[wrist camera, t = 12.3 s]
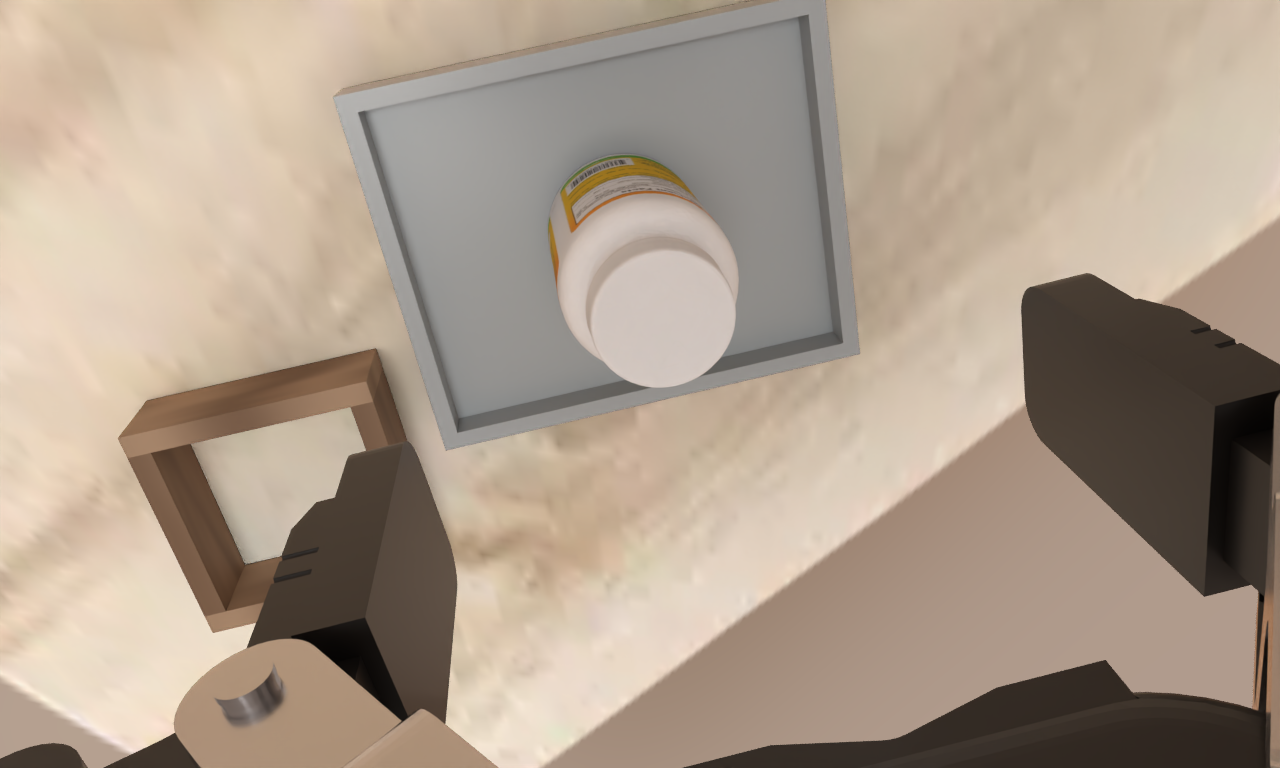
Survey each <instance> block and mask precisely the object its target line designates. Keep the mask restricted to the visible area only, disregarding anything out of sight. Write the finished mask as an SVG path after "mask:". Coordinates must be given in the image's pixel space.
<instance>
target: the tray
mask: <svg viewBox="0 0 1280 768" xmlns="http://www.w3.org/2000/svg"><path fill="white" fill-rule="evenodd" d="M333 99H334V102H335V105H336V108H337V111H338V114H339V117H340V121H341V124H342V127H343V130H344V133H345V136H346V139H347V143H348V146H349V149H350V152H351V155H352V158H353V161H354V164H355V168H356V171H357V174H358V177H359V180H360V183H361V186H362V189H363V193H364V196H365V199H366V202H367V205H368V208H369V211H370V214H371V218H372V221H373V224H374V227H375V230H376V233H377V236H378V239H379V243H380V246H381V249H382V252H383V255H384V258H385V261H386V265H387V268H388V271H389V274H390V277H391V280H392V283H393V286H394V290H395V293H396V296H397V299H398V302H399V305H400V308H401V311H402V315H403V318H404V321H405V324H406V327H407V330H408V333H409V336H410V340H411V343H412V346H413V349H414V352H415V355H416V358H417V361H418V365H419V368H420V371H421V374H422V377H423V380H424V383H425V387H426V390H427V393H428V396H429V399H430V402H431V405H432V408H433V412H434V415H435V418H436V421H437V424H438V427H439V430H440V433H441V437H442V440H443V443H444V446H445V449H446V450H450V449H454V448H459V447H463V446H467V445H472V444H476V443H480V442H485V441H489V440H493V439H497V438H502V437H506V436H510V435H515V434H519V433H523V432H527V431H532V430H536V429H540V428H545V427H549V426H553V425H557V424H562V423H566V422H570V421H575V420H579V419H583V418H587V417H592V416H596V415H600V414H605V413H609V412H613V411H618V410H622V409H626V408H630V407H635V406H639V405H643V404H648V403H652V402H656V401H660V400H665V399H669V398H673V397H678V396H682V395H686V394H690V393H695V392H699V391H703V390H708V389H712V388H716V387H720V386H725V385H729V384H733V383H738V382H742V381H746V380H751V379H755V378H759V377H763V376H768V375H772V374H776V373H781V372H785V371H789V370H793V369H798V368H802V367H806V366H811V365H815V364H819V363H823V362H828V361H832V360H836V359H841V358H845V357H849V356H853V355H858V354H860V348H859V338H858V328H857V318H856V307H855V297H854V287H853V277H852V267H851V256H850V246H849V236H848V226H847V216H846V205H845V195H844V185H843V175H842V165H841V154H840V144H839V134H838V124H837V114H836V103H835V93H834V83H833V73H832V63H831V52H830V42H829V32H828V22H827V12H826V1H825V0H751V1H746V2H742V3H737V4H732V5H728V6H723V7H718V8H714V9H709V10H705V11H700V12H695V13H691V14H686V15H681V16H677V17H672V18H667V19H663V20H658V21H654V22H649V23H644V24H640V25H635V26H630V27H626V28H621V29H616V30H612V31H607V32H603V33H598V34H593V35H589V36H584V37H579V38H575V39H570V40H565V41H561V42H556V43H552V44H547V45H542V46H538V47H533V48H528V49H524V50H519V51H514V52H510V53H505V54H501V55H496V56H491V57H487V58H482V59H477V60H473V61H468V62H463V63H459V64H454V65H450V66H445V67H440V68H436V69H431V70H426V71H422V72H417V73H412V74H408V75H403V76H399V77H394V78H389V79H385V80H380V81H375V82H371V83H366V84H361V85H357V86H352V87H348V88H343V89H341V90H340V91H339V92H338V93H337V94H336V95H335V96H334V97H333ZM614 154H636V155H641V156H645V157H648V158H651V159H653V160H656V161H658V162H659V163H661V164H663V165H665V166H666V167H667V168H669V169H670V170H671V171H673V172H674V173H675V174H676V175H677V176H678V177H679V178H680V179H681V180H682V181H683V182H684V183H685V185H686V186H687V187H688V188H689V190H690V191H691V192H692V193H693V195H694V196H695V197H696V198H697V200H698V201H699V202H700V203H701V205H702V206H703V207H704V208H705V209H706V211H707V212H708V213H709V214H710V215H711V217H712V218H713V219H714V220H715V221H716V223H717V224H718V225H719V227H720V228H721V229H722V231H723V232H724V234H725V236H726V237H727V239H728V241H729V242H730V245H731V247H732V249H733V252H734V254H735V258H736V262H737V267H738V276H739V284H738V296H737V300H736V304H735V307H736V320H735V328H734V332H733V335H732V338H731V340H730V343H729V345H728V347H727V349H726V350H725V352H724V353H723V355H722V356H721V358H720V359H719V360H718V361H717V362H716V363H715V364H714V365H713V366H712V367H711V368H710V369H709V370H708V371H707V372H705V373H704V374H702V375H701V376H699V377H697V378H695V379H693V380H692V381H689V382H687V383H684V384H681V385H677V386H672V387H665V388H651V387H645V386H641V385H637V384H635V383H631V382H629V381H627V380H625V379H623V378H622V377H620V376H618V375H617V374H616V373H614V372H613V371H612V370H611V369H610V368H609V367H608V366H607V365H606V364H605V363H604V361H602V360H600V359H598V358H597V357H595V356H594V355H592V354H591V353H590V352H589V351H588V350H586V349H585V348H584V347H583V346H582V345H581V344H580V343H579V342H578V340H577V339H576V338H575V336H574V335H573V334H572V332H571V330H570V329H569V327H568V325H567V323H566V321H565V318H564V315H563V313H562V310H561V307H560V303H559V299H558V293H557V288H556V281H555V275H554V268H553V263H552V258H551V253H550V247H549V241H548V220H549V214H550V210H551V206H552V204H553V201H554V199H555V197H556V195H557V193H558V191H559V190H560V188H561V186H562V185H563V184H564V182H565V181H566V180H567V179H568V178H569V177H570V176H571V175H572V174H573V173H574V172H575V171H577V170H578V169H579V168H581V167H582V166H584V165H585V164H587V163H589V162H591V161H593V160H595V159H598V158H601V157H604V156H608V155H614Z"/></svg>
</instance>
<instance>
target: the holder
mask: <svg viewBox="0 0 1280 768" xmlns="http://www.w3.org/2000/svg"><path fill="white" fill-rule="evenodd" d="M348 407H351V409H352V412H353V415H354V418H355V420H356V423H357V426H358V429H359V432H360V434H361V437H362V440H363V443H364V445H365V448H366V451H369V450H373V449H377V448H381V447H385V446H389V445H393V444H397V443H401V442H405V441H407V439H406V436H405V433H404V430H403V427H402V424H401V421H400V418H399V415H398V412H397V409H396V406H395V403H394V400H393V397H392V395H391V392H390V389H389V386H388V383H387V380H386V377H385V374H384V371H383V368H382V365H381V362H380V359H379V356H378V353H377V350H376V349H372V350H368V351H364V352H359V353H355V354H350V355H346V356H342V357H337V358H333V359H328V360H324V361H320V362H315V363H311V364H306V365H302V366H298V367H293V368H289V369H285V370H280V371H276V372H271V373H267V374H263V375H258V376H254V377H249V378H245V379H241V380H236V381H232V382H227V383H223V384H219V385H214V386H210V387H205V388H201V389H197V390H192V391H188V392H184V393H179V394H175V395H170V396H166V397H162V398H157V399H153V400H148V401H146V402H145V404H144V405H143V406H142V408H141V409H140V410H139V412H138V413H137V414H136V415H135V417H134V418H133V419H132V421H131V422H130V423H129V425H128V426H127V427H126V428H125V430H124V431H123V432H122V434H121V435H120V436H119V437H118V440H119V442H120V444H121V446H122V448H123V450H124V452H125V454H126V456H127V458H128V460H129V462H130V464H131V466H132V468H133V470H134V472H135V474H136V476H137V479H138V481H139V483H140V485H141V487H142V489H143V491H144V493H145V495H146V497H147V499H148V501H149V503H150V505H151V507H152V509H153V511H154V513H155V515H156V517H157V519H158V522H159V524H160V526H161V528H162V530H163V532H164V534H165V536H166V538H167V540H168V542H169V544H170V546H171V548H172V550H173V552H174V554H175V556H176V558H177V560H178V563H179V565H180V567H181V569H182V571H183V573H184V575H185V577H186V579H187V581H188V583H189V585H190V587H191V589H192V591H193V593H194V595H195V597H196V599H197V601H198V603H199V606H200V608H201V610H202V612H203V614H204V616H205V618H206V620H207V622H208V624H209V626H210V628H211V630H212V632H213V633H215V632H219V631H223V630H227V629H232V628H236V627H240V626H244V625H248V624H252V623H256V622H257V620H258V617H259V614H260V612H261V609H262V606H263V604H264V601H265V598H266V596H267V593H268V590H269V588H270V585H271V584H274V580H273V577H274V575H275V572H276V569H277V567H278V564H279V562H280V561H282V557H278V558H274V559H269V560H265V561H261V562H257V563H252V564H248V565H244V562H243V560H242V558H241V556H240V554H239V551H238V549H237V547H236V545H235V543H234V540H233V538H232V536H231V534H230V531H229V529H228V527H227V525H226V523H225V520H224V518H223V516H222V514H221V512H220V509H219V507H218V505H217V503H216V500H215V498H214V496H213V494H212V492H211V489H210V487H209V485H208V483H207V481H206V478H205V476H204V474H203V472H202V470H201V467H200V465H199V463H198V461H197V458H196V456H195V454H194V452H193V450H192V447H191V445H190V444H192V443H196V442H200V441H205V440H209V439H213V438H218V437H222V436H226V435H231V434H235V433H239V432H244V431H248V430H253V429H257V428H261V427H266V426H270V425H274V424H279V423H283V422H287V421H292V420H296V419H300V418H305V417H309V416H313V415H318V414H322V413H326V412H331V411H335V410H339V409H344V408H348Z"/></svg>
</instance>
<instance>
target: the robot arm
mask: <svg viewBox="0 0 1280 768" xmlns="http://www.w3.org/2000/svg"><path fill="white" fill-rule="evenodd" d="M1021 314H1022V337H1023V361H1024V384H1025V401H1026V407H1027V411H1028V415H1029V418H1030V421H1031V423H1032V425H1033V428H1034V430H1035V432H1036V433H1037V435H1038V437H1039V438H1040V440H1041V441H1042V442H1043V443H1044V444H1045V445H1046V446H1047V447H1048V448H1049V449H1050V450H1051V451H1052V452H1053V453H1054V454H1055V455H1056V456H1057V457H1058V458H1060V460H1061V461H1063V462H1064V463H1065V464H1066V465H1067V466H1068V467H1069V468H1070V469H1071V470H1072V471H1073V472H1074V473H1075V474H1076V475H1077V476H1078V477H1079V478H1080V479H1081V480H1082V481H1084V482H1085V483H1086V484H1087V485H1088V486H1089V487H1090V488H1091V489H1092V490H1093V491H1094V492H1095V493H1096V494H1097V495H1098V496H1099V497H1100V498H1101V499H1102V500H1103V501H1104V502H1106V503H1107V504H1108V505H1109V506H1110V507H1111V508H1112V509H1113V510H1114V511H1115V512H1116V513H1117V514H1118V515H1119V516H1120V517H1121V518H1122V519H1123V520H1124V521H1125V522H1126V523H1127V524H1128V525H1130V526H1131V527H1132V528H1133V529H1134V530H1135V531H1136V532H1137V533H1138V534H1139V535H1140V536H1141V537H1142V538H1143V539H1144V540H1145V541H1146V542H1147V543H1148V544H1149V545H1151V546H1152V547H1153V548H1154V549H1155V550H1156V551H1157V552H1158V553H1159V554H1160V555H1161V556H1162V557H1163V558H1164V559H1165V560H1166V561H1167V562H1168V563H1169V564H1170V565H1172V566H1173V567H1174V568H1175V569H1176V570H1177V571H1178V572H1179V573H1180V574H1181V575H1182V576H1183V577H1184V578H1185V579H1186V580H1187V581H1189V583H1190V584H1191V585H1192V586H1193V587H1195V588H1196V589H1197V590H1198V591H1199V592H1200V593H1201V594H1202V595H1203V596H1204V597H1205V596H1209V595H1213V594H1217V593H1221V592H1225V591H1228V590H1233V589H1237V588H1240V587H1244V586H1248V585H1252V586H1253V587H1254V588H1255V589H1257V590H1258V601H1257V613H1256V631H1255V654H1254V678H1253V701H1252V702H1253V703H1252V709H1251V708H1248V707H1244V706H1241V705H1238V704H1233V703H1228V702H1224V701H1219V700H1215V699H1210V698H1205V697H1197V696H1189V695H1182V694H1172V693H1152V692H1138V693H1137V692H1136V693H1132V692H1131V691H1130V689H1129V688H1128V687H1127V686H1126V684H1125V683H1124V682H1123V681H1122V680H1121V678H1120V677H1119V676H1118V675H1117V673H1116V672H1115V671H1114V670H1113V669H1112V667H1111V666H1110V665H1109V664H1108V663H1107V661H1106V660H1104V661H1099V662H1096V663H1092V664H1088V665H1084V666H1080V667H1076V668H1072V669H1068V670H1064V671H1060V672H1056V673H1052V674H1049V675H1045V676H1041V677H1037V678H1033V679H1029V680H1025V681H1021V682H1017V683H1013V684H1009V685H1005V686H1002V687H998V688H995V689H993V690H991V691H990V692H987V693H986V694H984V695H982V696H980V697H978V698H976V699H974V700H972V701H970V702H968V703H966V704H964V705H962V706H960V707H958V708H956V709H954V710H953V711H951V712H949V713H947V714H945V715H943V716H941V717H939V718H937V719H935V720H933V721H931V722H929V723H927V724H925V725H923V726H922V727H920V728H918V729H916V730H914V731H912V732H910V733H908V734H906V735H904V736H901V737H899V738H896V739H891V740H883V741H863V742H839V743H815V744H792V745H770V746H767V747H762V748H758V749H755V750H751V751H747V752H743V753H739V754H735V755H731V756H727V757H723V758H719V759H715V760H712V761H708V762H704V763H700V764H696V765H692V766H688V767H684V768H1280V365H1279V364H1278V363H1276V362H1274V361H1273V360H1271V359H1269V358H1267V357H1265V356H1264V355H1262V354H1260V353H1258V352H1256V351H1255V350H1253V349H1251V348H1249V347H1248V346H1245V345H1244V344H1242V343H1239V344H1236V343H1235V339H1233V338H1231V337H1230V336H1228V335H1226V334H1224V333H1222V332H1221V331H1219V330H1217V329H1214V330H1211V328H1210V325H1208V324H1206V323H1204V322H1203V321H1201V320H1199V319H1197V318H1196V317H1194V316H1192V315H1190V314H1188V313H1187V312H1185V311H1183V310H1181V309H1178V308H1174V307H1170V306H1166V305H1162V304H1158V303H1154V302H1150V301H1146V300H1142V299H1134V298H1132V297H1130V296H1129V295H1127V294H1125V293H1124V292H1122V291H1120V290H1118V289H1117V288H1115V287H1113V286H1112V285H1110V284H1108V283H1106V282H1105V281H1103V280H1101V279H1100V278H1098V277H1096V276H1094V275H1092V274H1089V273H1085V274H1081V275H1077V276H1073V277H1069V278H1065V279H1061V280H1057V281H1053V282H1049V283H1045V284H1041V285H1037V286H1033V287H1029V288H1028V289H1027V290H1026V291H1025V293H1024V295H1023V299H1022V306H1021ZM281 557H282V561H280V562H279V564H278V567H277V569H276V572H275V575H274V577H273V580H274V584H271V585H270V588H269V590H268V593H267V596H266V598H265V601H264V604H263V606H262V609H261V612H260V614H259V617H258V620H257V622H256V625H255V628H254V630H253V633H252V636H251V638H250V641H249V644H248V646H247V649H244V650H242V651H240V652H238V653H236V654H234V655H232V656H231V657H229V658H227V659H225V660H224V661H222V662H221V663H219V664H218V665H216V666H215V667H213V668H212V669H211V670H209V671H208V672H207V673H206V674H205V675H204V676H202V677H201V678H200V679H199V680H198V681H197V682H196V683H195V684H194V685H193V686H192V687H191V689H190V690H189V691H188V692H187V694H186V695H185V696H184V698H183V700H182V701H181V703H180V705H179V707H178V709H177V712H176V714H175V720H174V729H175V733H174V734H172V735H170V736H168V737H166V738H164V739H163V740H161V741H159V742H157V743H155V744H152V745H150V746H148V747H146V748H144V749H142V750H140V751H138V752H136V753H134V754H131V755H129V756H127V757H125V758H123V759H121V760H119V761H117V762H115V763H113V764H110V765H108V766H106V767H104V768H498V767H497V766H496V765H494V764H493V763H492V762H491V761H490V760H488V759H487V758H486V757H485V756H483V755H482V754H481V753H480V752H479V751H477V750H476V749H475V748H474V747H472V746H471V745H470V744H469V743H467V742H466V741H465V740H464V739H463V738H461V737H460V736H459V735H458V734H456V733H455V732H454V731H453V730H451V729H450V728H449V727H448V726H447V725H445V721H446V710H447V699H448V687H449V676H450V664H451V653H452V642H453V630H454V619H455V607H456V596H457V575H456V568H455V562H454V557H453V553H452V549H451V546H450V543H449V540H448V537H447V534H446V531H445V529H444V526H443V523H442V521H441V518H440V515H439V512H438V510H437V507H436V504H435V502H434V499H433V496H432V493H431V491H430V488H429V485H428V483H427V480H426V477H425V475H424V472H423V469H422V466H421V464H420V461H419V459H418V456H417V454H416V452H415V450H414V448H413V446H412V445H411V444H410V443H409V442H408V441H405V442H401V443H397V444H393V445H389V446H385V447H381V448H377V449H373V450H369V451H364V452H360V453H356V454H352V455H350V456H349V457H348V459H347V462H346V465H345V468H344V471H343V474H342V477H341V480H340V483H339V487H338V490H337V493H336V496H335V498H332V499H328V500H324V501H320V502H316V503H315V504H314V506H313V507H312V508H311V509H310V510H309V511H308V512H307V513H306V514H305V515H304V516H303V518H302V519H301V520H300V521H299V522H298V523H297V524H296V525H295V526H294V527H293V528H292V529H291V532H290V535H289V537H288V540H287V543H286V545H285V548H284V551H283V553H282V556H281ZM0 768H87V766H86V765H85V763H84V761H83V760H82V758H81V757H80V755H79V754H78V752H77V751H76V750H75V749H73V748H72V747H70V746H68V745H64V744H55V743H51V744H41V745H37V746H33V747H29V748H26V749H23V750H20V751H17V752H14V753H12V754H10V755H8V756H5V757H3V758H1V759H0Z"/></svg>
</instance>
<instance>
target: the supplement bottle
mask: <svg viewBox="0 0 1280 768" xmlns="http://www.w3.org/2000/svg"><path fill="white" fill-rule="evenodd" d="M548 241H549V247H550V253H551V258H552V263H553V268H554V275H555V281H556V288H557V293H558V299H559V303H560V307H561V310H562V313H563V315H564V318H565V321H566V323H567V325H568V327H569V329H570V330H571V332H572V334H573V335H574V336H575V338H576V339H577V340H578V342H579V343H580V344H581V345H582V346H583V347H584V348H585V349H586V350H588V351H589V352H590V353H591V354H592V355H594V356H595V357H597V358H598V359H600V360H602V361H604V363H605V364H606V365H607V366H608V367H609V368H610V369H611V370H612V371H613V372H614V373H616V374H617V375H618V376H620V377H622V378H623V379H625V380H627V381H629V382H631V383H635V384H637V385H641V386H645V387H651V388H665V387H672V386H677V385H681V384H684V383H687V382H689V381H692V380H693V379H695V378H697V377H699V376H701V375H702V374H704V373H705V372H707V371H708V370H709V369H710V368H711V367H712V366H713V365H714V364H715V363H716V362H717V361H718V360H719V359H720V358H721V356H722V355H723V353H724V352H725V350H726V349H727V347H728V345H729V343H730V340H731V338H732V335H733V332H734V328H735V320H736V307H735V304H736V300H737V296H738V284H739V276H738V267H737V262H736V258H735V254H734V252H733V249H732V247H731V245H730V242H729V241H728V239H727V237H726V236H725V234H724V232H723V231H722V229H721V228H720V227H719V225H718V224H717V223H716V221H715V220H714V219H713V218H712V217H711V215H710V214H709V213H708V212H707V211H706V209H705V208H704V207H703V206H702V205H701V203H700V202H699V201H698V200H697V198H696V197H695V196H694V195H693V193H692V192H691V191H690V190H689V188H688V187H687V186H686V185H685V183H684V182H683V181H682V180H681V179H680V178H679V177H678V176H677V175H676V174H675V173H674V172H673V171H671V170H670V169H669V168H667V167H666V166H665V165H663V164H661V163H659V162H658V161H656V160H653V159H651V158H648V157H645V156H641V155H636V154H614V155H608V156H604V157H601V158H598V159H595V160H593V161H591V162H589V163H587V164H585V165H584V166H582V167H581V168H579V169H578V170H577V171H575V172H574V173H573V174H572V175H571V176H570V177H569V178H568V179H567V180H566V181H565V182H564V184H563V185H562V186H561V188H560V190H559V191H558V193H557V195H556V197H555V199H554V201H553V204H552V206H551V210H550V214H549V220H548Z"/></svg>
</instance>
